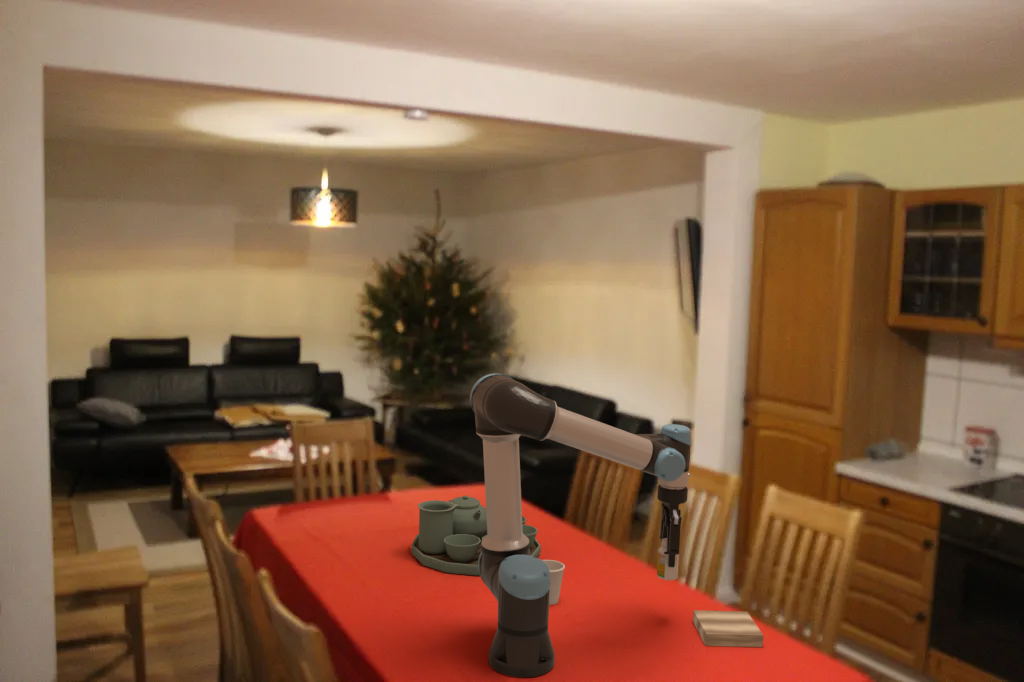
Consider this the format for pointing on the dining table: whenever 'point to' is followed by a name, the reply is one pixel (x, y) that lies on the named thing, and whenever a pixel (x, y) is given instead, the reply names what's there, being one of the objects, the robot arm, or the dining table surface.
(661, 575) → the supplement bottle
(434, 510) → the tea set
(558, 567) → the dixie cup
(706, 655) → the dining table surface
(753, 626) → the birch stand
